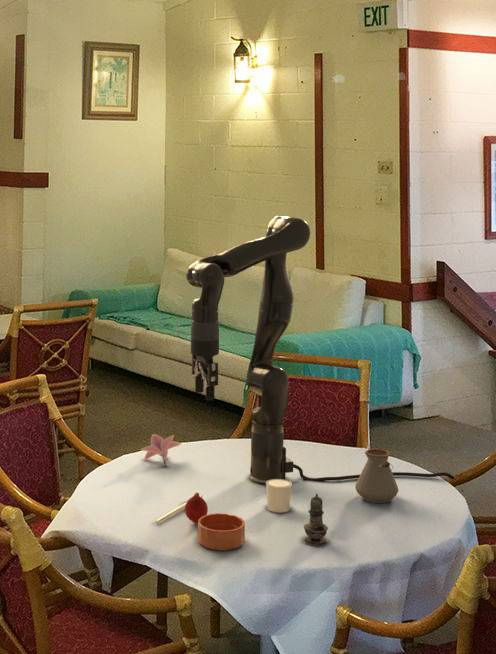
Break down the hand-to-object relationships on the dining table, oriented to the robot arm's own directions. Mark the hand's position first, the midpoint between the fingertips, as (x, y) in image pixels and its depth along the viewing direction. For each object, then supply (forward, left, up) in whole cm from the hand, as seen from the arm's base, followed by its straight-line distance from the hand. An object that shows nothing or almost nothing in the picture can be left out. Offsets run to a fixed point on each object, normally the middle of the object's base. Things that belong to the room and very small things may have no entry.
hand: (204, 396), depth 259 cm
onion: (+8, +17, -28) cm, 34 cm away
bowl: (+6, +30, -28) cm, 41 cm away
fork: (+10, +9, -28) cm, 31 cm away
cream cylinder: (-16, +14, -28) cm, 35 cm away
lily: (+3, -30, -28) cm, 41 cm away
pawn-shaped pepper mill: (-16, +36, -28) cm, 48 cm away
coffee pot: (-43, +19, -28) cm, 55 cm away
